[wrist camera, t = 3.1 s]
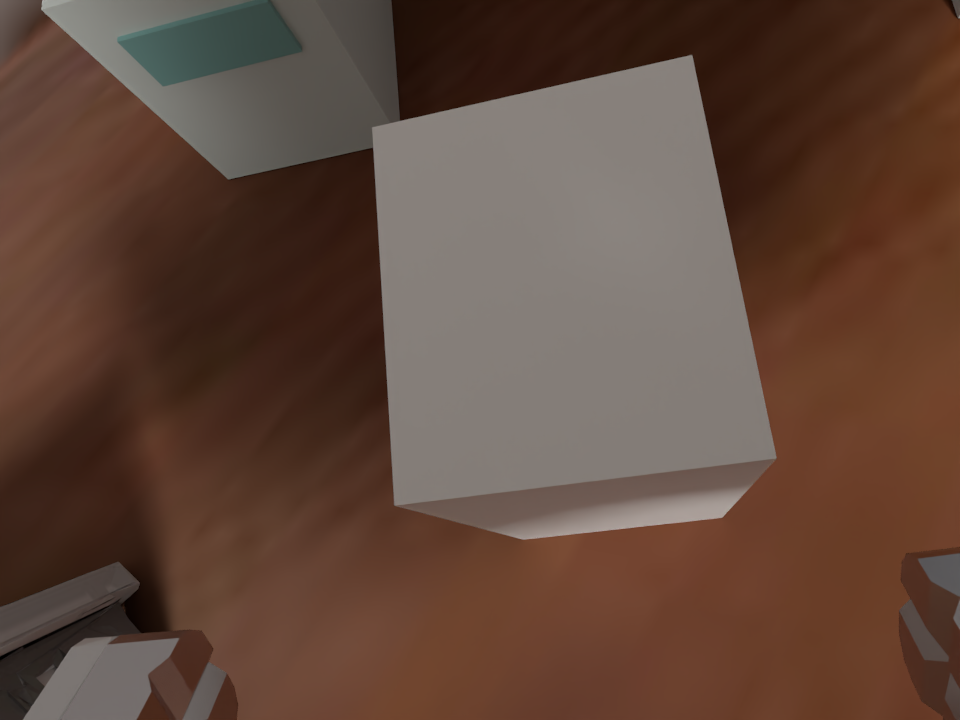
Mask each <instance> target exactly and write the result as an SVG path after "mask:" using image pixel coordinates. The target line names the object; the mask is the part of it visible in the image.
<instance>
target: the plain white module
mask: <svg viewBox="0 0 960 720" xmlns="http://www.w3.org/2000/svg"><path fill="white" fill-rule="evenodd" d="M372 134H373V151H374V168H375V185H376V202H377V219H378V236H379V253H380V270H381V287H382V304H383V321H384V338H385V355H386V372H387V389H388V406H389V423H390V440H391V457H392V474H393V491H394V506H397V507H401V508H405V509H409V510H413V511H416V512H420V513H424V514H428V515H432V516H435V517H439V518H443V519H447V520H451V521H454V522H458V523H462V524H466V525H470V526H473V527H477V528H481V529H485V530H489V531H492V532H496V533H500V534H504V535H508V536H512V537H515V538H519V539H523V540H525V539H534V538H543V537H552V536H561V535H570V534H579V533H588V532H597V531H606V530H615V529H624V528H633V527H642V526H651V525H660V524H669V523H678V522H688V521H697V520H706V519H715V518H722V517H723V516H724V515H725V514H726V513H727V512H728V511H729V510H730V509H731V507H732V506H733V505H734V504H735V503H736V502H737V501H738V500H739V499H740V498H741V497H742V495H743V494H744V493H745V492H746V491H747V490H748V489H749V488H750V487H751V486H752V485H753V484H754V482H755V481H756V480H757V479H758V478H759V477H760V476H761V475H762V474H763V473H764V472H765V471H766V469H767V468H768V467H769V466H770V465H771V464H772V463H773V462H774V461H775V460H776V459H777V458H776V453H775V449H774V444H773V439H772V434H771V429H770V425H769V420H768V415H767V410H766V405H765V401H764V396H763V391H762V386H761V382H760V377H759V372H758V367H757V362H756V358H755V353H754V348H753V343H752V339H751V334H750V329H749V324H748V319H747V315H746V310H745V305H744V300H743V296H742V291H741V286H740V281H739V276H738V272H737V267H736V262H735V257H734V253H733V248H732V243H731V238H730V233H729V229H728V224H727V219H726V214H725V209H724V205H723V200H722V195H721V190H720V186H719V181H718V176H717V171H716V166H715V162H714V157H713V152H712V147H711V143H710V138H709V133H708V128H707V123H706V119H705V114H704V109H703V104H702V100H701V95H700V90H699V85H698V80H697V76H696V71H695V66H694V61H693V56H692V55H689V56H685V57H681V58H676V59H672V60H667V61H663V62H658V63H654V64H650V65H645V66H641V67H636V68H632V69H628V70H623V71H619V72H614V73H610V74H606V75H601V76H597V77H592V78H588V79H583V80H579V81H575V82H570V83H566V84H561V85H557V86H553V87H548V88H544V89H539V90H535V91H530V92H526V93H522V94H517V95H513V96H508V97H504V98H500V99H495V100H491V101H486V102H482V103H478V104H473V105H469V106H464V107H460V108H455V109H451V110H447V111H442V112H438V113H433V114H429V115H425V116H420V117H416V118H411V119H407V120H402V121H398V122H394V123H389V124H385V125H380V126H376V127H372Z"/></svg>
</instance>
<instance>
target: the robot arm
mask: <svg viewBox="0 0 960 720" xmlns="http://www.w3.org/2000/svg"><path fill="white" fill-rule="evenodd" d="M901 582H902V584H903V586H904V588H905V589H906V591H907V593H908V595H909V597H910V600H909V601H908V602H907V603H906V604H905V605H904V606H903V607H902V608H901V609H900V610H899V636H900V641H901V646H902V652H903V657H904V661H905V663H906V666H907V669H908V672H909V674H910V677H911V680H912V682H913V684H914V686H915V688H916V690H917V693H918V695H919V697H920V699H921V701H922V702H923V703H925V704H926V705H927V706H929V707H930V708H932V709H933V710H934V711H936V712H937V713H939V714H940V715H942V716H943V720H960V547H956V548H947V549H939V550H930V551H921V552H913V553H906V555H905V557H904V559H903V561H902V567H901ZM212 651H213V648H212V646H211V644H210V643H209V641H208V640H207V638H206V637H205V635H204V633H203V632H202V631H199V630H178V631H165V632H153V633H140V634H127V635H119V636H110V637H97V638H85V639H83V640H82V641H80V642H79V643H77V644H76V645H74V646H73V647H71V649H70V650H69V652H68V653H67V655H66V656H65V658H64V659H63V661H62V662H61V664H60V665H59V667H58V668H57V670H56V671H55V673H54V674H53V676H52V677H51V678H50V680H49V681H48V683H47V684H46V686H45V687H44V689H43V690H42V692H41V693H40V695H39V696H38V698H37V699H36V701H35V702H34V704H33V705H32V707H31V708H30V710H29V711H28V713H27V714H26V716H25V717H24V719H23V720H237V711H238V702H237V697H236V693H235V688H234V686H233V684H232V682H231V680H230V678H229V676H228V674H227V673H226V672H224V671H222V670H221V669H219V668H218V667H216V666H214V665H213V664H211V663H210V662H209V660H210V657H211V654H212Z"/></svg>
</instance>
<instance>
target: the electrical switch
mask: <svg viewBox="0 0 960 720" xmlns="http://www.w3.org/2000/svg"><path fill="white" fill-rule="evenodd" d="M139 585H140V583H139V581H138V580H137V579H136V578H135V577H134V576H133V575H132V574H131V573H130V572H129V571H128V570H127V569H126V568H125V567H123V566H122V565H121V564H120V563H119V562H116V563H113V564H111V565H108V566H106V567H103V568H100V569H98V570H95V571H92V572H90V573H87V574H84V575H82V576H79V577H77V578H74V579H72V580H69V581H66V582H64V583H61V584H59V585H56V586H53V587H51V588H48V589H46V590H43V591H40V592H38V593H35V594H33V595H30V596H28V597H25V598H22V599H20V600H17V601H15V602H12V603H9V604H7V605H4V606H2V607H0V720H23V719H24V717H25V716H26V714H27V713H28V711H29V710H30V708H31V707H32V705H33V704H34V702H35V701H36V699H37V698H38V696H39V695H40V693H41V692H42V690H43V689H44V687H45V686H46V684H47V683H48V681H49V680H50V678H51V677H52V676H53V674H54V673H55V671H56V670H57V668H58V667H59V665H60V664H61V662H62V661H63V659H64V658H65V656H66V655H67V653H68V652H69V650H70V649H71V647H73V646H74V645H76V644H77V643H79V642H80V641H82V640H83V639H85V638H97V637H110V636H119V635H127V634H140V633H141V632H140V631H139V630H138V629H137V628H136V627H135V626H134V624H133V623H132V622H131V621H130V620H129V619H128V617H127V616H126V614H125V612H124V610H123V608H122V607H121V604H122V603H123V602H124V601H125V600H127V599H128V598H129V597H130V596H131V595H132V594H133V593H134V592H135V591H137V590H138V588H139Z"/></svg>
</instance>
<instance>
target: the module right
mask: <svg viewBox="0 0 960 720" xmlns="http://www.w3.org/2000/svg"><path fill="white" fill-rule="evenodd" d="M952 2H953V5H954V8H955V11H956V14H957V17H958V18H960V0H952Z"/></svg>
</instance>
